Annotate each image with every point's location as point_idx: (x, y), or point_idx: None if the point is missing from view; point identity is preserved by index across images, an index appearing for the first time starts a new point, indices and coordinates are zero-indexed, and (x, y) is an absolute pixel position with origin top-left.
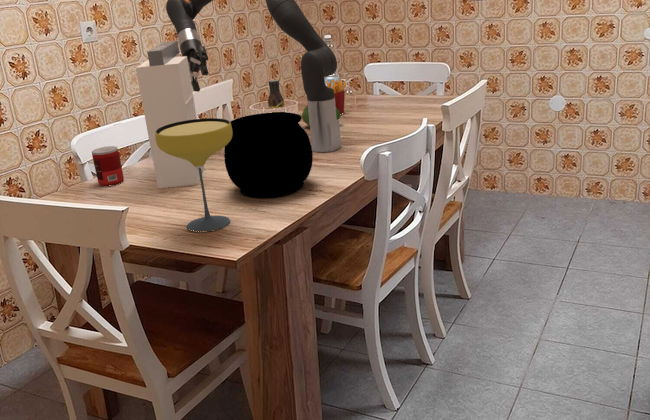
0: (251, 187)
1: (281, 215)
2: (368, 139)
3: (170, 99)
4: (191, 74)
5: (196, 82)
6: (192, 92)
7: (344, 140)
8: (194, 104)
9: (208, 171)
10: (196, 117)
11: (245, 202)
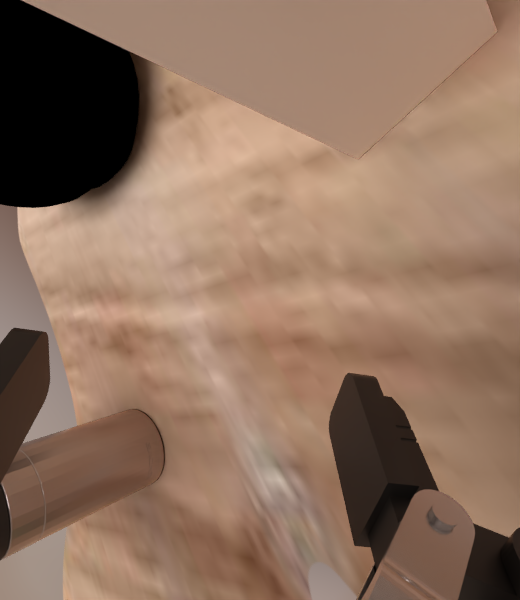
0: None
1: None
2: (100, 538)
3: None
4: (368, 597)
5: (360, 515)
6: (68, 16)
7: (138, 537)
8: (155, 62)
9: None
10: (218, 91)
11: None
